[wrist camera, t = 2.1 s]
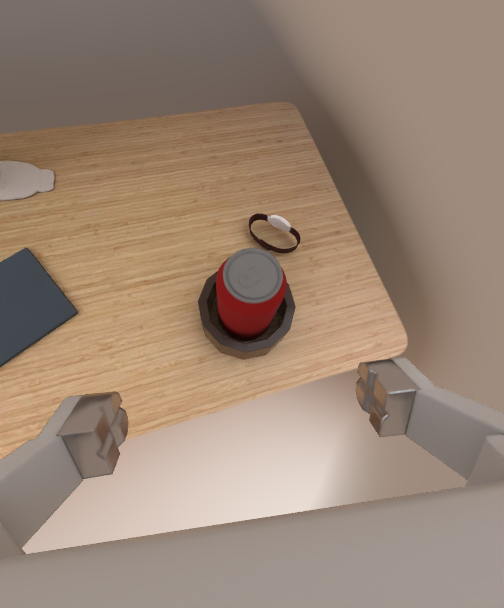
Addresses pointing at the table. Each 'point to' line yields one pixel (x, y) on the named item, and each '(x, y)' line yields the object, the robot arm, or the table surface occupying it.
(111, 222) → the table surface
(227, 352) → the faceted ring
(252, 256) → the beverage can
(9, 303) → the mat
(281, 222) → the watch
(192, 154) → the table surface
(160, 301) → the table surface
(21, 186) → the candle
